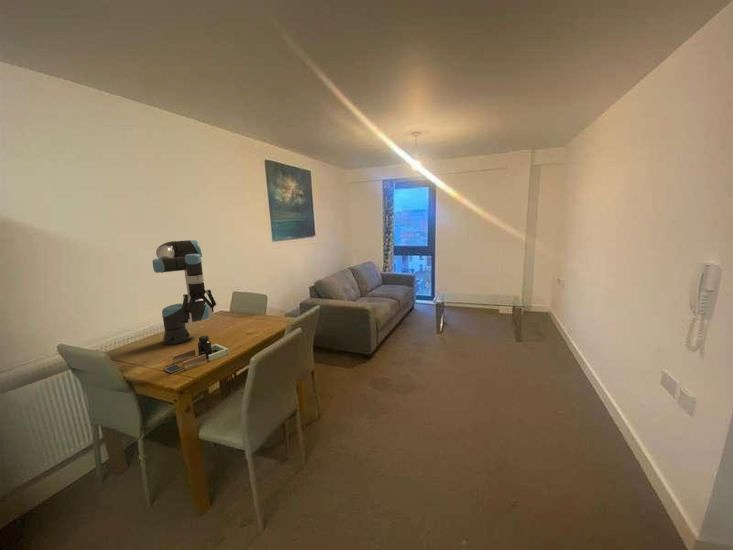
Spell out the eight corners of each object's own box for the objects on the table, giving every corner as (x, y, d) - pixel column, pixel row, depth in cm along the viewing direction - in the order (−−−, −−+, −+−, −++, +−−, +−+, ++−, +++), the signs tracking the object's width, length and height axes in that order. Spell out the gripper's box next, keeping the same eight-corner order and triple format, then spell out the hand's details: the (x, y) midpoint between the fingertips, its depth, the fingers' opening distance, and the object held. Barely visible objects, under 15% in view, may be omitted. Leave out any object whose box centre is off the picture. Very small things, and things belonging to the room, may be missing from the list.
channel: (173, 363, 166) (172, 356, 165) (194, 356, 175) (193, 348, 174) (185, 370, 158) (184, 362, 157) (206, 362, 167) (205, 354, 166)
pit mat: (163, 369, 160) (163, 368, 159) (176, 365, 164) (175, 364, 164) (170, 374, 155) (170, 372, 155) (182, 369, 160) (182, 368, 160)
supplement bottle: (200, 361, 168) (197, 340, 166) (198, 356, 174) (195, 336, 172) (213, 357, 172) (211, 337, 170) (211, 353, 178) (209, 334, 176)
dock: (198, 355, 176) (197, 350, 176) (217, 348, 185) (216, 343, 184) (210, 360, 168) (209, 355, 168) (229, 353, 177) (228, 348, 176)
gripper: (176, 287, 154) (182, 329, 158) (220, 279, 172) (224, 316, 176) (169, 285, 158) (175, 326, 162) (213, 278, 176) (217, 314, 180)
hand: (201, 321), depth 169 cm, fingers open, 10 cm apart
